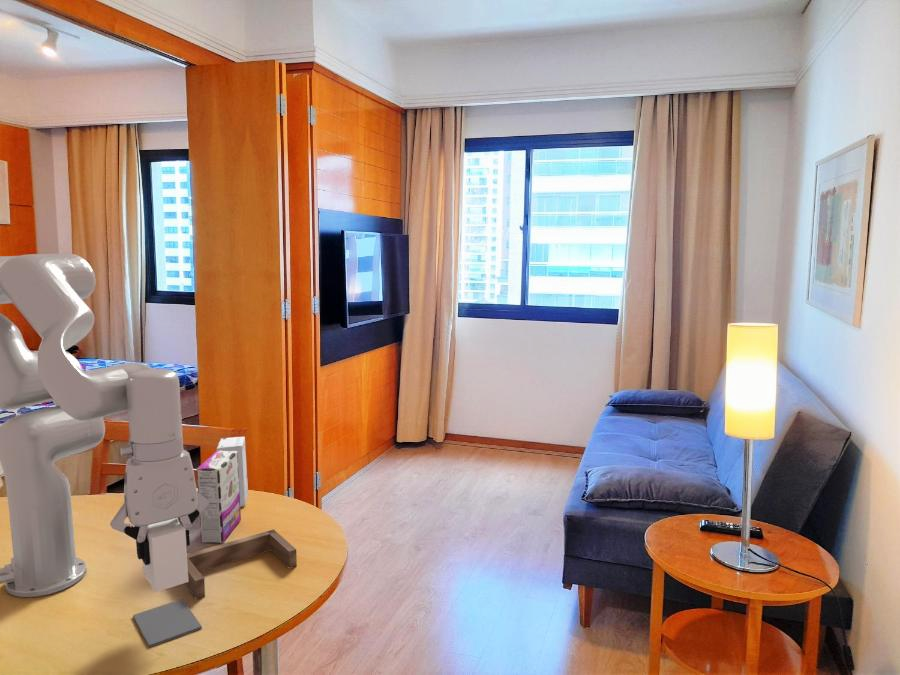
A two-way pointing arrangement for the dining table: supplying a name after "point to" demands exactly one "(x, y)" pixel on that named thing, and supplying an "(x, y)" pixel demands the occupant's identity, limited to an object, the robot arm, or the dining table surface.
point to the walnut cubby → (236, 556)
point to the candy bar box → (219, 496)
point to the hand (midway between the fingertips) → (164, 554)
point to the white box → (166, 555)
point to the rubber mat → (166, 622)
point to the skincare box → (239, 446)
